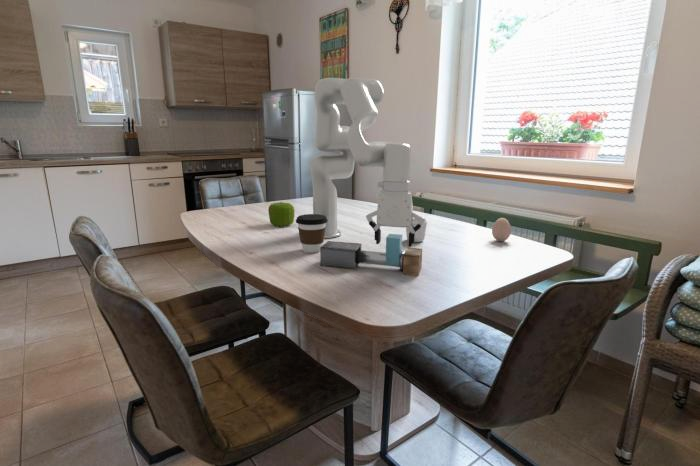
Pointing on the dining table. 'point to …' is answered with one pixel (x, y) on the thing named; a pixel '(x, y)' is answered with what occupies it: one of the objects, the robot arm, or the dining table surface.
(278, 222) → the apple
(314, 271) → the dining table surface
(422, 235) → the cup
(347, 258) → the sleeve
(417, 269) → the cardboard box
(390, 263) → the plug
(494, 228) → the egg
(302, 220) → the coffee cup
